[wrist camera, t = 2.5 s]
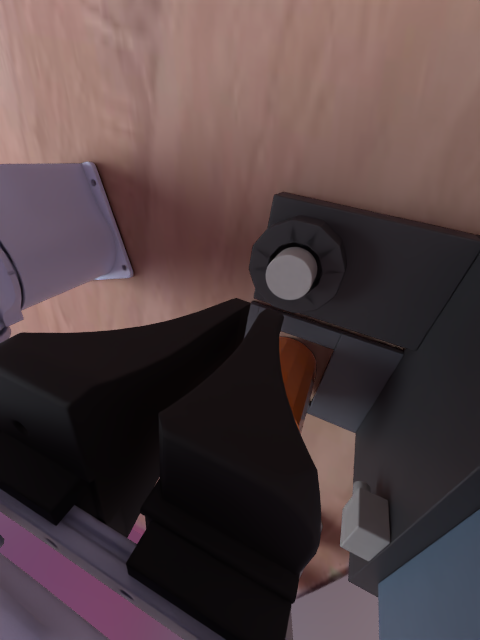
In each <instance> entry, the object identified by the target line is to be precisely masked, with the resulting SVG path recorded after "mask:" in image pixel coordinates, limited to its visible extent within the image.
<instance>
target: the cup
mask: <svg viewBox="0 0 480 640" xmlns="http://www.w3.org/2000/svg"><path fill="white" fill-rule="evenodd" d="M279 353H280V364H281V371H282V376H283V382H284V386H285V390H286V394H287V398H288V401H289V404H290V407H291V410H292V413H293V416H294V419H295V422H296V424H297V427H298V429H299V432H300V434H301V432H302V428H303V424H304V420H305V416H306V412H307V408H308V404H309V400H310V396H311V392H312V388H313V384H314V380H315V376H316V370H317V364H316V360H315V358H314V355H313V354H312V352H311V351H310V350H309V349H308V348H307V347H306V346H305V345H304V344H302V343H301V342H299V341H297V340H295V339H292V338H288V337H279Z"/></svg>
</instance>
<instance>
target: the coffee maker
mask: <svg viewBox="0 0 480 640" xmlns="http://www.w3.org/2000/svg"><path fill="white" fill-rule="evenodd" d="M476 236H477V237H478V238H480V235H476ZM266 308H268V309H271V310H274V311H277V312H280V313H282V314H283V316H284V320H283V324H282V327H281V331H282V332H285V333H288V334H291V335H294V336H297V337H299V338H302V339H305V340H308V341H311V342H314V343H317V344H319V345H322V346H325V347H328V348H331V349H334V351H333V353H332V356H331V358H330V360H329V363H328V365H327V367H326V370H325V372H324V374H323V376H322V379H321V381H320V383H319V386H318V388H317V390H316V393H315V395H314V397H313V400H312V402H310V401H309V404H308V408H307V412H306V413H308V414H311V415H313V416H315V417H318V418H320V419H323V420H325V421H327V422H330V423H332V424H335V425H337V426H339V427H342V428H344V429H347V430H349V431H351V432H354V433H356V438H355V458H354V478H353V496H352V497H351V499H350V500H349V501H348V503H347V504H346V505H345V506H344V508H343V513H342V526H341V539H340V547H342V548H344V549H346V550H347V551H349V552H350V556H349V576H348V577H349V578H348V581H349V582H351V583H353V584H355V585H356V586H358V587H360V588H362V589H364V590H366V591H367V592H369V593H371V594H373V595H375V596H377V597H378V600H379V640H480V253H479V254H478V256H477V257H476V259H475V260H474V262H473V263H472V265H471V267H470V268H469V270H468V271H467V273H466V274H465V276H464V277H463V279H462V281H461V282H460V284H459V285H458V287H457V288H456V290H455V291H454V293H453V294H452V296H451V298H450V299H449V301H448V302H447V304H446V305H445V307H444V308H443V310H442V312H441V313H440V315H439V316H438V318H437V319H436V321H435V322H434V324H433V326H432V327H431V329H430V330H429V332H428V333H427V335H426V336H425V338H424V339H423V341H422V343H421V344H420V346H419V347H418V349H417V350H416V351H413V350H410V349H407V348H405V350H404V352H403V351H402V350H399V349H396V348H393V347H390V346H387V345H384V344H381V343H378V342H375V341H372V340H369V339H365V338H362V337H359V336H356V335H353V334H350V333H347V332H344V331H341V330H338V329H335V328H332V327H329V326H326V325H323V324H320V323H317V322H314V321H311V320H308V319H305V318H302V317H299V316H296V315H293V314H290V313H287V312H284V311H281V310H278V309H275V308H272V307H269V306H266V305H263V304H262V305H261V304H260V303H257V302H254V301H252V302H251V305H250V310H249V316H248V321H247V326H246V331H245V336H246V335H247V333H248V331H249V330H250V328H251V326H252V325H253V323H254V321H255V320H256V318H257V317H258V315H259V314H260V313H261V312H262V311H263V310H265V309H266ZM245 336H244V338H245Z"/></svg>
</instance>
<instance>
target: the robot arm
mask: <svg viewBox="0 0 480 640" xmlns="http://www.w3.org/2000/svg"><path fill="white" fill-rule="evenodd" d="M95 182H96V184H95ZM125 266H126V267H125ZM132 276H133V270H132V267H131V264H130V262H129V259H128V256H127V253H126V250H125V247H124V245H123V242H122V239H121V236H120V233H119V230H118V228H117V225H116V222H115V219H114V216H113V213H112V211H111V208H110V205H109V202H108V199H107V196H106V194H105V191H104V188H103V185H102V182H101V179H100V177H99V174H98V171H97V168H96V166H95V164H94V163H93V162H83V163H63V164H0V511H1V512H2V513H3V514H5V515H6V516H8V517H9V518H10V519H12V520H13V521H15V522H16V523H18V524H19V525H20V526H22V527H24V528H25V529H26V530H28V531H29V532H31V533H32V534H33V535H35V536H36V537H38V538H39V539H41V540H42V541H43V542H45V543H46V544H48V545H49V546H51V547H52V548H53V549H55V550H56V551H58V552H59V553H61V554H62V555H63V556H65V557H66V558H68V559H69V560H71V561H72V562H73V563H75V564H77V565H78V566H79V567H81V568H82V569H84V570H85V571H86V572H88V573H89V574H91V575H92V576H94V577H95V578H96V579H98V580H99V581H101V582H102V583H104V584H105V585H107V586H108V587H109V588H111V589H112V590H114V591H115V592H117V593H118V594H119V595H121V596H122V597H124V598H125V599H127V600H128V601H129V602H131V603H132V604H134V605H135V606H137V607H138V608H140V609H141V610H142V611H144V612H145V613H147V614H148V615H150V616H151V617H152V618H154V619H155V620H157V621H158V622H160V623H161V624H162V625H164V626H165V627H167V628H168V629H170V630H171V631H172V632H174V633H175V634H177V635H178V636H180V637H181V638H182V639H184V640H288V639H286V633H287V627H288V621H289V616H290V610H291V604H293V603H294V602H295V598H296V594H297V589H298V583H299V577H300V573H301V571H302V570H303V569H304V568H305V566H306V565H307V564H308V563H309V562H310V560H311V559H312V558H313V557H314V555H315V554H316V552H317V549H318V547H319V544H320V535H321V503H320V491H319V482H318V473H317V469H316V467H315V465H314V463H313V461H312V459H311V457H310V455H309V452H308V450H307V448H306V446H305V444H304V441H303V439H302V437H301V434H300V432H299V429H298V427H297V424H296V422H295V419H294V416H293V413H292V410H291V407H290V404H289V401H288V398H287V394H286V390H285V386H284V382H283V376H282V371H281V364H280V353H279V334H280V331H281V327H282V324H283V320H284V316H283V314H282V313H280V312H277V311H274V310H271V309H268V308H266V309H265V310H263V311H262V312H261V313H260V314H259V315H258V317H257V318H256V320H255V321H254V323H253V325H252V326H251V328H250V330H249V331H248V333H247V335H246V336H245V331H246V326H247V321H248V316H249V310H250V305H251V303H250V302H247V301H244V300H241V299H238V298H235V299H231V300H229V301H226V302H223V303H220V304H218V305H215V306H212V307H210V308H207V309H204V310H201V311H199V312H196V313H192V314H189V315H186V316H183V317H179V318H176V319H173V320H169V321H165V322H160V323H156V324H151V325H146V326H140V327H133V328H125V329H118V330H110V331H98V332H80V333H19V334H17V335H15V336H13V337H11V338H9V337H10V335H11V329H10V327H9V326H10V325H12V324H15V323H17V322H19V321H21V320H23V319H24V318H23V315H22V312H21V311H22V310H24V309H26V308H29V307H31V306H33V305H35V304H38V303H40V302H42V301H45V300H47V299H49V298H52V297H54V296H56V295H59V294H61V293H63V292H66V291H68V290H70V289H73V288H75V287H77V286H80V285H82V284H84V283H87V282H89V281H91V280H103V279H121V278H130V277H132ZM244 336H245V338H244ZM159 477H160V479H159ZM158 479H159V480H158ZM157 480H158V482H157ZM156 482H157V483H156ZM155 484H156V485H155ZM140 513H141V514H142V515H144V516H145V520H146V531H145V532H144V534H143V535H142V537H141V539H140V541H139V542H138V544H136V543H134V542H132V541H131V540H129V539H128V538H127V537H128V535H129V534H130V532H131V530H132V528H133V526H134V524H135V522H136V520H137V518H138V516H139V514H140ZM3 544H4V538H3V537H2V536H1V535H0V547H1V546H2V545H3ZM0 640H109V639H108V638H107V637H106V636H104V635H103V634H102V633H101V632H100V631H98V630H97V629H96V628H95V627H93V626H92V625H91V624H89V623H88V622H87V621H86V620H85V619H83V618H82V617H81V616H80V615H78V614H77V613H76V612H75V611H73V610H72V609H71V608H70V607H68V606H67V605H66V604H64V603H63V602H62V601H61V600H60V599H58V598H57V597H56V596H54V595H53V594H52V593H51V592H50V591H48V590H47V589H46V588H45V587H43V586H42V585H41V584H40V583H38V582H37V581H36V580H34V579H33V578H32V577H31V576H29V575H28V574H27V573H25V572H24V571H23V570H22V569H20V568H19V567H18V566H16V565H15V564H14V563H13V562H11V561H10V560H9V559H7V558H6V557H5V556H3V555H2V554H1V553H0Z"/></svg>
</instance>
